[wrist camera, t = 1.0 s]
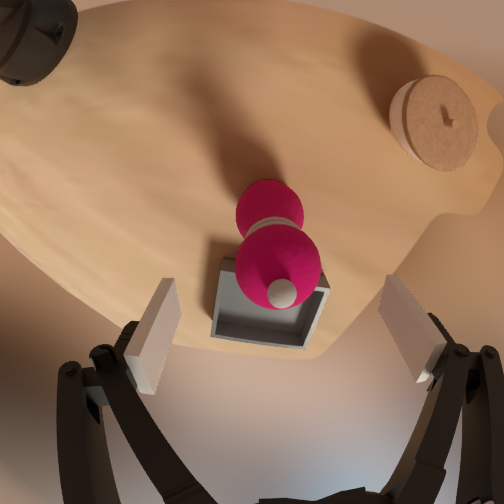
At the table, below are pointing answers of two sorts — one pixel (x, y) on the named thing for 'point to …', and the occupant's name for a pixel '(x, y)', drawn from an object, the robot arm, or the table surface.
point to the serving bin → (264, 315)
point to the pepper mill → (274, 247)
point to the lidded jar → (434, 122)
